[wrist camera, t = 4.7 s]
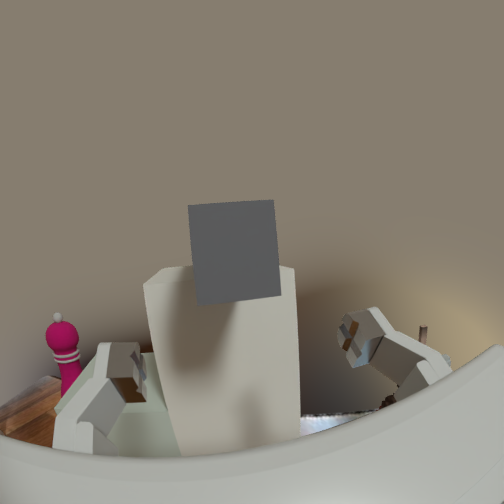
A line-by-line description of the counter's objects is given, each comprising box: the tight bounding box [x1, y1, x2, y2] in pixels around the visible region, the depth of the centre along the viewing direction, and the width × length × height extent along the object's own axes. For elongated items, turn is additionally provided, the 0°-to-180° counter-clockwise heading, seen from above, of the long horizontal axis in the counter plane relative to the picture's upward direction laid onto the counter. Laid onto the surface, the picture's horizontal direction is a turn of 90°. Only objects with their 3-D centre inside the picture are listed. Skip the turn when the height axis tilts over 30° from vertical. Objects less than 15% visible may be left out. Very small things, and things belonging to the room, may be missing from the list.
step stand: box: [54, 265, 300, 457], centre depth 26 cm, size 14×22×26 cm, turn 102°
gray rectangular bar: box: [188, 200, 282, 306], centre depth 22 cm, size 22×4×4 cm, turn 12°
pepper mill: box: [46, 312, 83, 398], centre depth 36 cm, size 7×7×20 cm
